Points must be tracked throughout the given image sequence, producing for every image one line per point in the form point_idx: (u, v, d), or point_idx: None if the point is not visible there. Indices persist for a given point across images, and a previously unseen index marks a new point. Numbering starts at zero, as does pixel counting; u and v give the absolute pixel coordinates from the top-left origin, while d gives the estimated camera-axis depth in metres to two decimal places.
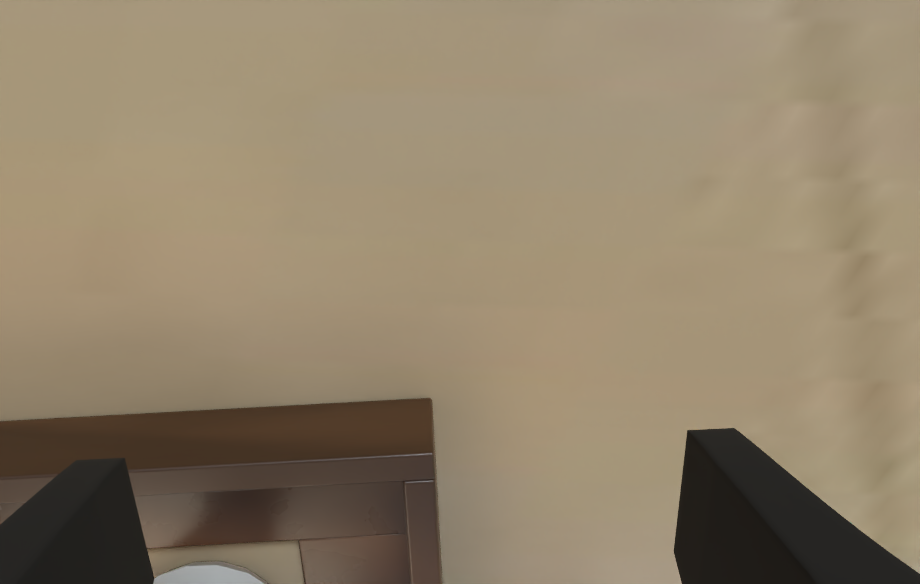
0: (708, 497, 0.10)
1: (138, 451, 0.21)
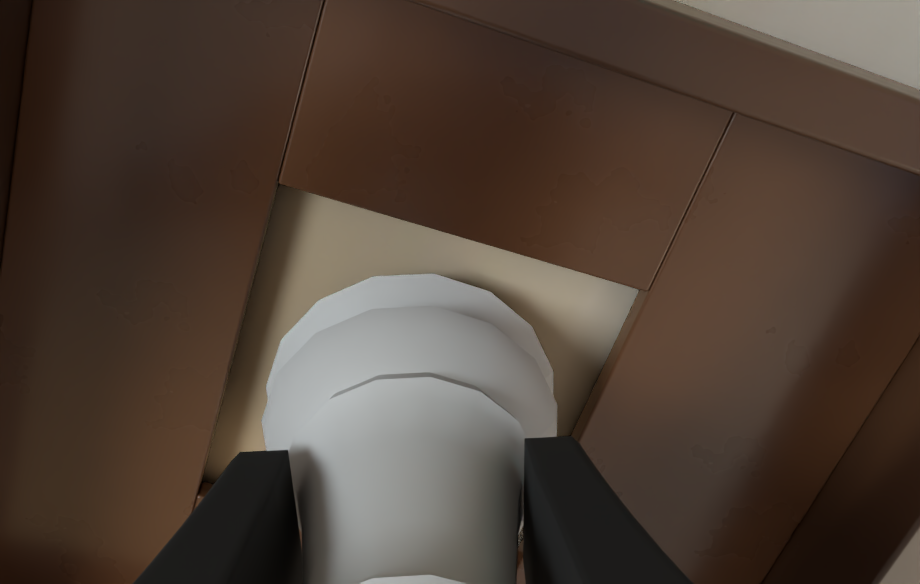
0: (533, 506, 0.10)
1: None
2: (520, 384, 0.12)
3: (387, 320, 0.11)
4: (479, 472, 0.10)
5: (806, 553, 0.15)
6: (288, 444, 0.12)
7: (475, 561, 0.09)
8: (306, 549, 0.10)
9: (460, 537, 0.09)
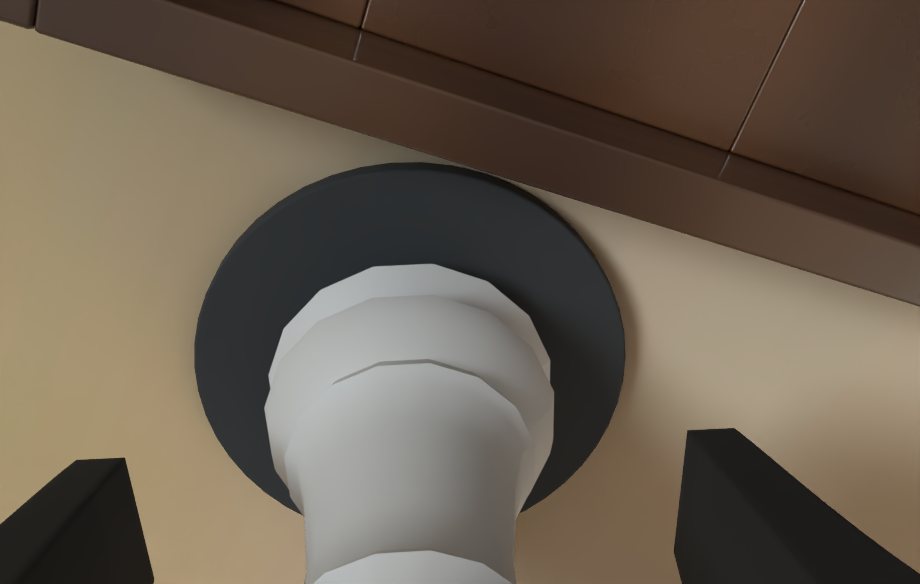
0: (708, 497, 0.10)
1: None
2: (516, 371, 0.12)
3: (387, 308, 0.12)
4: (478, 455, 0.10)
5: None
6: (291, 430, 0.12)
7: (474, 538, 0.09)
8: (309, 530, 0.10)
9: (460, 516, 0.09)
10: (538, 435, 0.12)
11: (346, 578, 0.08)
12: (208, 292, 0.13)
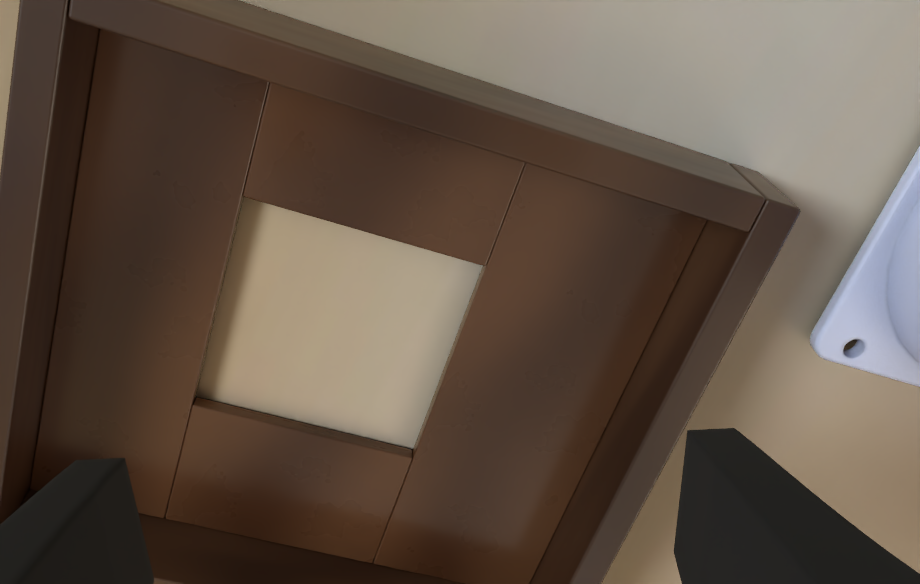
0: (708, 497, 0.10)
1: None
2: None
3: None
4: None
5: (607, 446, 0.21)
6: None
7: None
8: None
9: None
10: None
11: None
12: None
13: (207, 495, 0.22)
